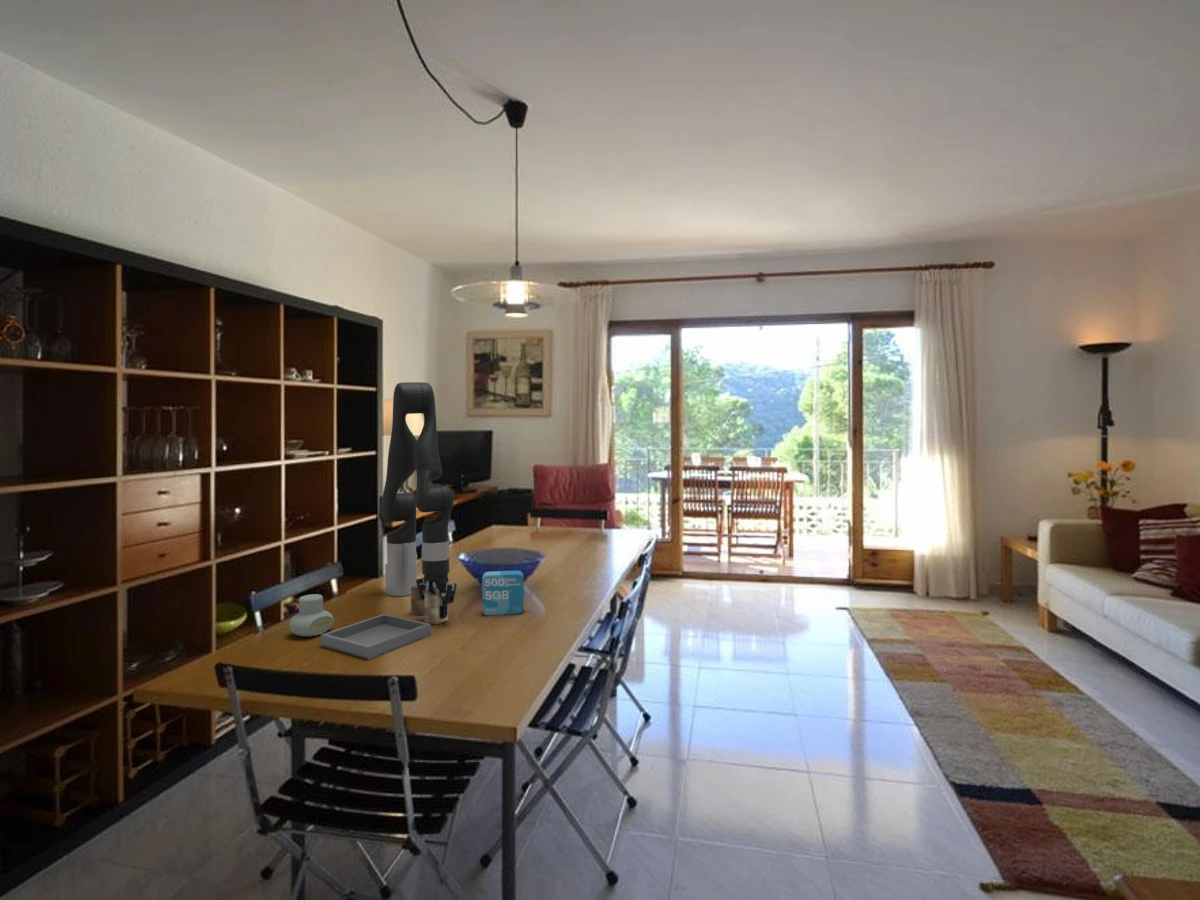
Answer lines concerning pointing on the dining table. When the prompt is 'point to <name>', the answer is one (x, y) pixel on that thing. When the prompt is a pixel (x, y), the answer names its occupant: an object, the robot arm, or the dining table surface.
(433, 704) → the dining table surface
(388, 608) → the dining table surface
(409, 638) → the tray
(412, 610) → the full-size block
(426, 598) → the block
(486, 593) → the data package
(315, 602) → the air freshener
